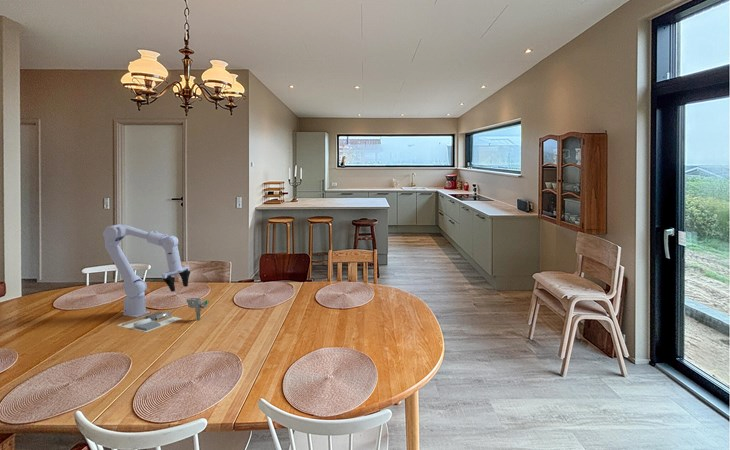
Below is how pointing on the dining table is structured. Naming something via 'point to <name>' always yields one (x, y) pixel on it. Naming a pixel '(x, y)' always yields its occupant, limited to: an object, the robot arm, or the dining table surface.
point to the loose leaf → (159, 315)
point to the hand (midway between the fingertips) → (179, 288)
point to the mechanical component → (197, 305)
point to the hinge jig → (148, 323)
